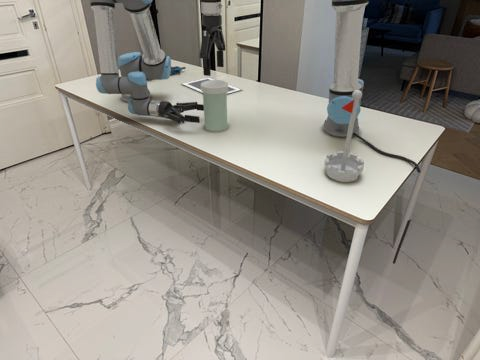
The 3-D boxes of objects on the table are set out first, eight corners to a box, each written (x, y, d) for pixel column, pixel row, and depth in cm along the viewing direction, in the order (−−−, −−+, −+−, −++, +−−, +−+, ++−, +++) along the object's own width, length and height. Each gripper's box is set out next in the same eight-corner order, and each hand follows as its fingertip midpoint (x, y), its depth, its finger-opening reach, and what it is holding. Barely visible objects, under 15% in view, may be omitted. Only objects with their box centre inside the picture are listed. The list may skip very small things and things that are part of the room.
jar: (224, 121, 159) (223, 80, 148) (229, 130, 151) (228, 87, 140) (203, 123, 157) (200, 82, 146) (207, 132, 148) (204, 89, 138)
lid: (224, 84, 150) (224, 79, 149) (231, 92, 141) (231, 87, 140) (198, 86, 148) (198, 81, 146) (203, 95, 138) (203, 89, 137)
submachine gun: (171, 61, 241) (190, 66, 224) (171, 66, 243) (190, 72, 226) (125, 69, 222) (142, 76, 205) (126, 75, 224) (143, 82, 207)
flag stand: (346, 161, 127) (361, 81, 110) (369, 179, 117) (390, 94, 100) (316, 168, 123) (327, 86, 106) (337, 186, 113) (353, 99, 96)
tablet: (181, 84, 205) (181, 83, 205) (208, 77, 216) (208, 77, 216) (213, 98, 185) (213, 97, 185) (241, 90, 196) (241, 89, 196)
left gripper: (173, 107, 167) (214, 111, 162) (149, 127, 147) (194, 133, 142) (172, 92, 163) (213, 96, 158) (146, 111, 143) (193, 116, 138)
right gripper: (206, 19, 118) (209, 80, 129) (232, 10, 137) (233, 64, 149) (187, 18, 120) (192, 78, 131) (215, 10, 139) (217, 62, 151)
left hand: (204, 113), depth 150 cm, fingers open, 13 cm apart
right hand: (214, 71), depth 140 cm, fingers open, 13 cm apart
